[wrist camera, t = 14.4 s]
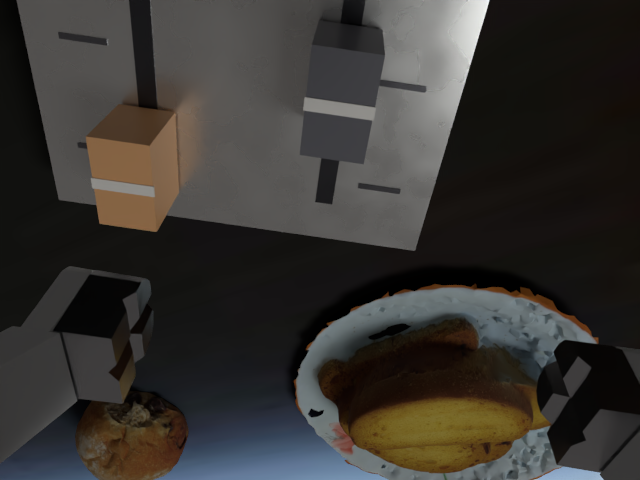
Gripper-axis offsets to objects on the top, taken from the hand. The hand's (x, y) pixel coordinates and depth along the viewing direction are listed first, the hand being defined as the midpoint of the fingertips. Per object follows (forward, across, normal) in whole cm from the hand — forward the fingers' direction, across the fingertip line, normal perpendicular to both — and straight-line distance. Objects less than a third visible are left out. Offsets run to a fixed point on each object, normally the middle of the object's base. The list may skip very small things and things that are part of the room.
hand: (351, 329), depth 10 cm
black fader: (+18, +1, +1) cm, 18 cm away
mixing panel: (+21, +6, +2) cm, 22 cm away
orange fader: (+18, +11, +7) cm, 22 cm away
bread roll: (+21, +15, +38) cm, 46 cm away
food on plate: (+21, -12, +27) cm, 37 cm away
